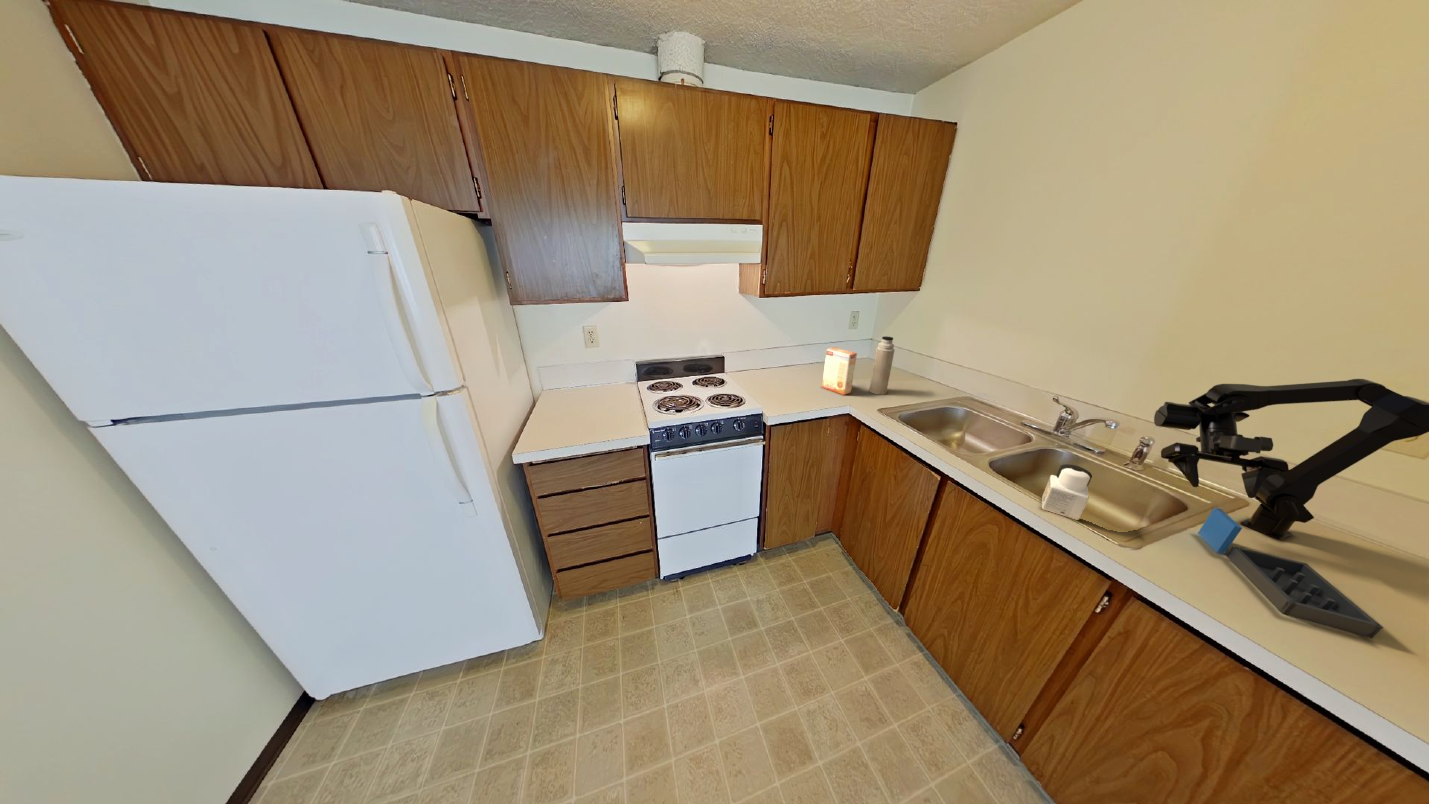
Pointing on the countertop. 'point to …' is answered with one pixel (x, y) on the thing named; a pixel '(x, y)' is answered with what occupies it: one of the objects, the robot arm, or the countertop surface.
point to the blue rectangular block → (1219, 531)
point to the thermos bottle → (882, 366)
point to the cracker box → (839, 370)
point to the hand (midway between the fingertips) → (1223, 492)
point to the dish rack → (1302, 592)
